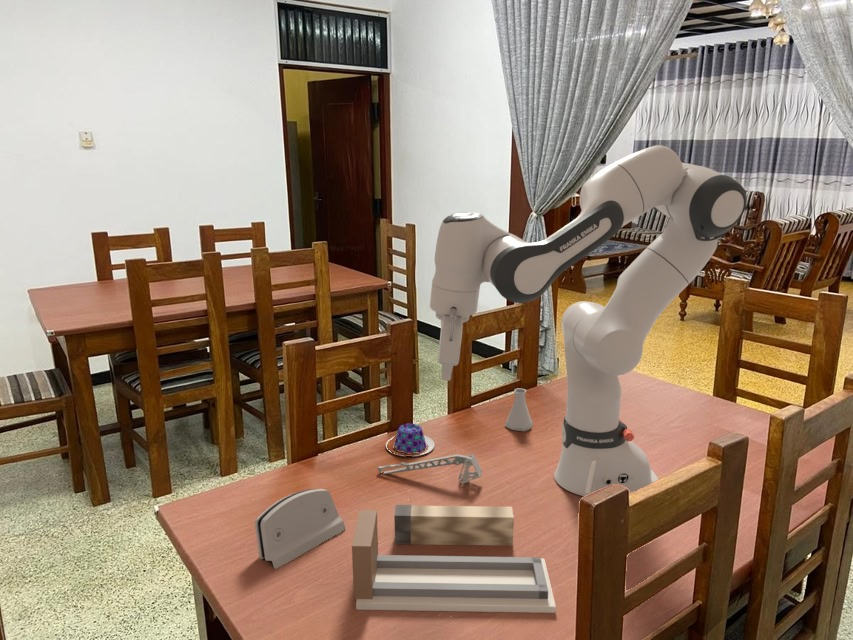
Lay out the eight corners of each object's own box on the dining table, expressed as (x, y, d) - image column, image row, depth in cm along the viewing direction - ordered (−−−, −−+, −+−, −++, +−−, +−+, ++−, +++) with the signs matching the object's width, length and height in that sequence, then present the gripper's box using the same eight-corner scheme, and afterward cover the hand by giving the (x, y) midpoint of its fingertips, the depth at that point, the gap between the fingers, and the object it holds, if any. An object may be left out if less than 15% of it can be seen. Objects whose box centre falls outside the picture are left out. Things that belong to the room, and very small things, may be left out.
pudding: (403, 464, 148) (402, 443, 147) (376, 444, 158) (376, 425, 156) (444, 450, 155) (444, 430, 153) (416, 431, 164) (416, 413, 163)
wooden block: (510, 534, 122) (511, 506, 120) (512, 545, 118) (513, 517, 117) (396, 532, 122) (395, 504, 121) (394, 544, 119) (394, 515, 117)
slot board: (543, 564, 113) (547, 509, 110) (555, 612, 102) (559, 553, 99) (362, 561, 114) (360, 506, 111) (353, 609, 103) (350, 550, 99)
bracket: (480, 479, 137) (461, 439, 136) (395, 507, 144) (375, 470, 142) (482, 471, 140) (463, 433, 139) (399, 500, 147) (379, 463, 145)
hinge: (274, 570, 112) (259, 516, 111) (260, 566, 115) (246, 514, 115) (347, 528, 123) (334, 479, 123) (333, 526, 127) (320, 478, 126)
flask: (537, 423, 168) (538, 388, 165) (525, 434, 162) (527, 398, 159) (512, 417, 172) (513, 383, 169) (500, 427, 166) (501, 392, 163)
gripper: (472, 319, 108) (462, 393, 112) (470, 288, 127) (462, 352, 131) (435, 315, 108) (427, 389, 112) (439, 284, 127) (432, 349, 132)
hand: (446, 369), depth 122 cm, fingers open, 8 cm apart
